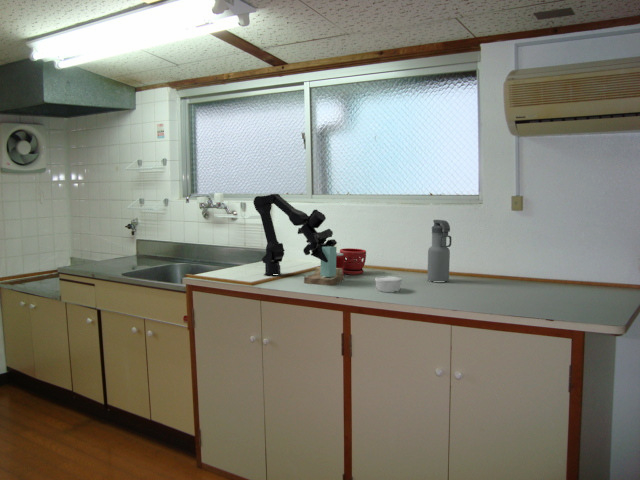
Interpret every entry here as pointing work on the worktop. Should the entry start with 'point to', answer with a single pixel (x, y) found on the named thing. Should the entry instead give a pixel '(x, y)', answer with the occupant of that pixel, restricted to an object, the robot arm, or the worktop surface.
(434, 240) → the water bottle
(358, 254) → the plant pot
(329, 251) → the column
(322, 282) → the baseplate
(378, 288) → the ramekin
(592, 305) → the worktop surface
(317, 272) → the beam
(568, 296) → the worktop surface
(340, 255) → the canned food
